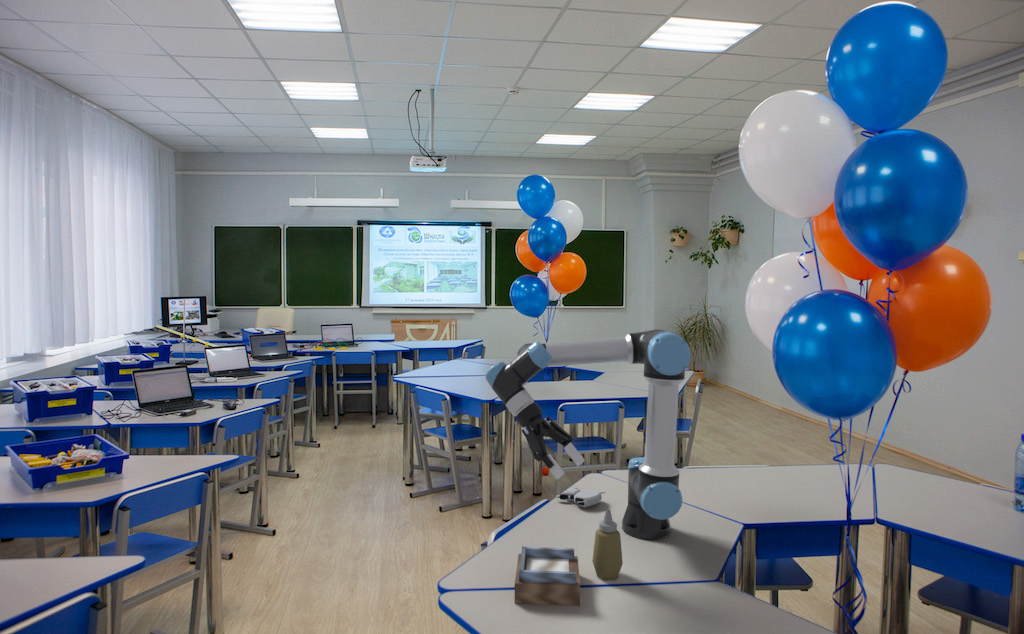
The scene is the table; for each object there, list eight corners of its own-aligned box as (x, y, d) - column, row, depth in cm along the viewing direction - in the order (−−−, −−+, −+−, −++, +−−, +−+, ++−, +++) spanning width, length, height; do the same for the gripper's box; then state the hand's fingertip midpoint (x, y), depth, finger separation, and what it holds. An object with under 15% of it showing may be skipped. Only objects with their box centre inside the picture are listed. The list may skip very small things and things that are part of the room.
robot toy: (553, 504, 214) (588, 512, 204) (553, 492, 214) (587, 499, 204) (573, 495, 223) (607, 503, 213) (573, 483, 223) (607, 490, 213)
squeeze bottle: (615, 585, 155) (616, 518, 154) (587, 577, 159) (588, 511, 158) (626, 573, 162) (628, 508, 161) (599, 565, 166) (600, 502, 165)
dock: (577, 574, 161) (577, 547, 160) (579, 606, 145) (580, 576, 145) (518, 571, 162) (518, 544, 162) (514, 603, 146) (514, 573, 146)
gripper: (536, 409, 183) (580, 465, 176) (494, 426, 162) (542, 490, 155) (552, 394, 180) (597, 451, 173) (511, 409, 159) (561, 474, 152)
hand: (571, 469), depth 164 cm, fingers open, 13 cm apart
